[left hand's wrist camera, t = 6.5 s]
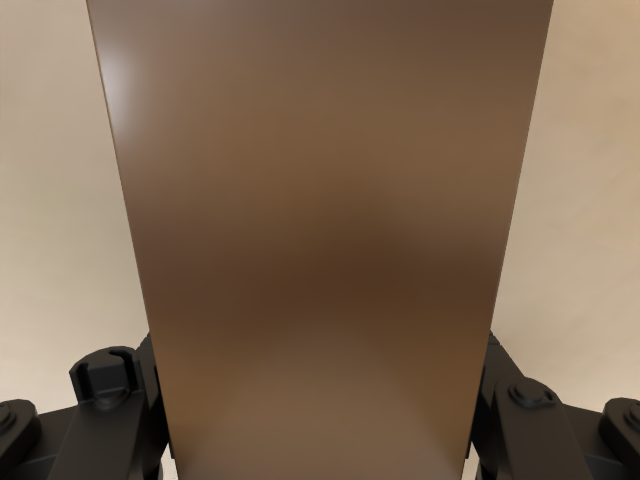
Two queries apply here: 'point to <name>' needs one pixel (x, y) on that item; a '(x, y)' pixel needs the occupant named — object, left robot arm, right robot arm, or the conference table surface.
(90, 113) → the conference table surface
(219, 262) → the bar
